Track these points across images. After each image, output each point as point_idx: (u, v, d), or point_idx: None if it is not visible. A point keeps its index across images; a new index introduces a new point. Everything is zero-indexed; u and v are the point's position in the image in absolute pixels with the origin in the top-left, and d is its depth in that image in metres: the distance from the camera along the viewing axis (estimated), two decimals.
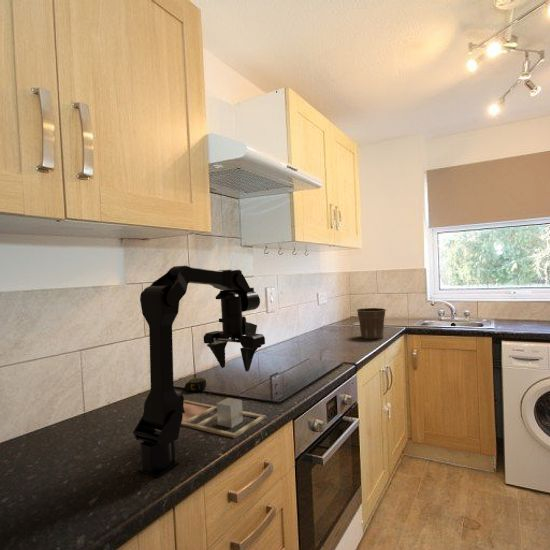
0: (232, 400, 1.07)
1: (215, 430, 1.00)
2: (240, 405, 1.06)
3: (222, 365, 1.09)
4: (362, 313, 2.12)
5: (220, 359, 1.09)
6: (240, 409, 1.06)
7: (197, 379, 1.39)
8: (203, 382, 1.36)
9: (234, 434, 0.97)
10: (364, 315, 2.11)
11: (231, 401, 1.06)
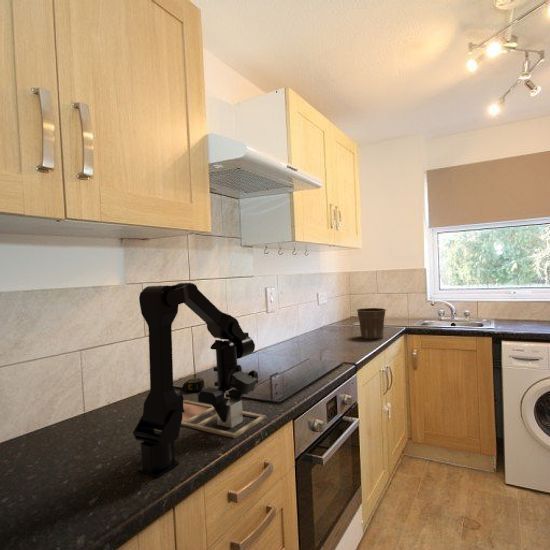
0: (232, 400, 1.06)
1: (215, 430, 1.00)
2: (240, 405, 1.06)
3: None
4: (362, 313, 2.12)
5: None
6: (240, 409, 1.06)
7: (195, 379, 1.39)
8: (201, 382, 1.36)
9: (234, 434, 0.97)
10: (364, 315, 2.11)
11: (231, 401, 1.06)
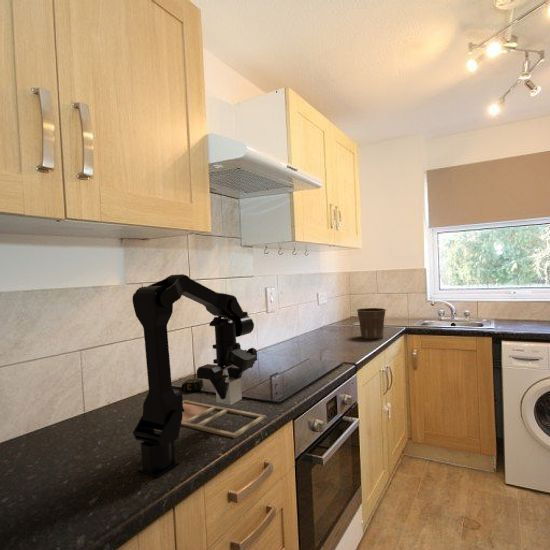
0: (231, 378, 1.07)
1: (215, 430, 1.00)
2: (239, 382, 1.06)
3: None
4: (362, 313, 2.12)
5: None
6: (239, 386, 1.06)
7: (194, 379, 1.39)
8: (200, 382, 1.36)
9: (234, 434, 0.97)
10: (364, 315, 2.11)
11: (230, 378, 1.06)
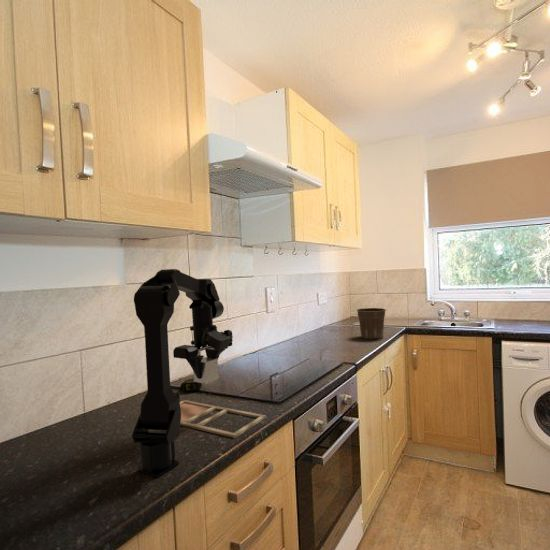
0: (208, 358, 1.11)
1: (215, 430, 1.00)
2: (216, 363, 1.10)
3: None
4: (362, 313, 2.12)
5: None
6: (216, 367, 1.10)
7: (193, 379, 1.39)
8: None
9: (234, 434, 0.97)
10: (364, 315, 2.11)
11: (207, 359, 1.10)
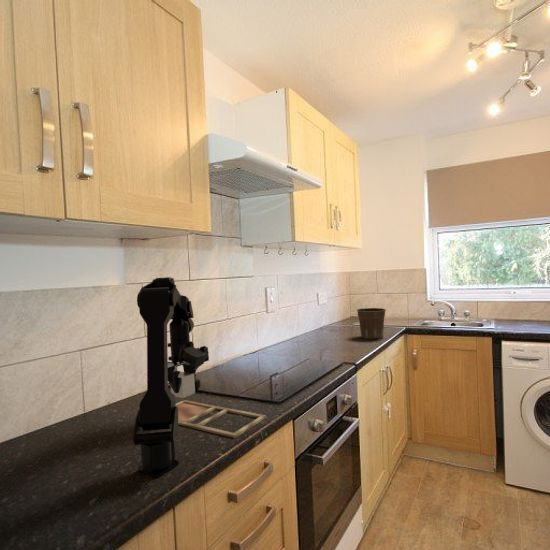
0: (185, 373, 1.16)
1: (215, 430, 1.00)
2: (192, 378, 1.15)
3: None
4: (362, 313, 2.12)
5: None
6: (192, 381, 1.15)
7: None
8: (197, 383, 1.36)
9: (234, 434, 0.97)
10: (364, 315, 2.11)
11: (183, 374, 1.15)
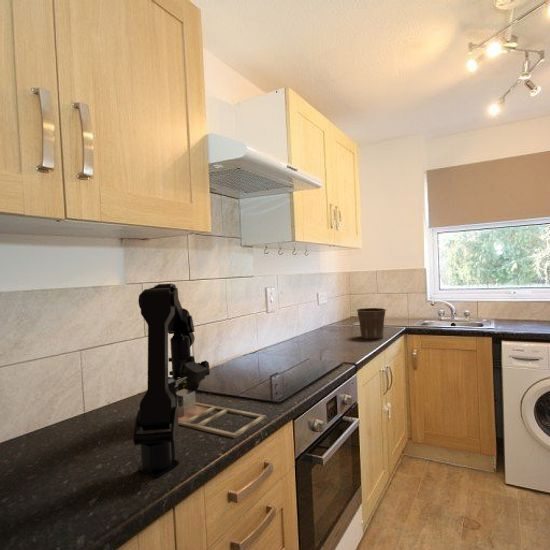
0: (186, 391, 1.16)
1: (215, 430, 1.00)
2: (193, 395, 1.15)
3: None
4: (362, 313, 2.12)
5: None
6: (193, 399, 1.15)
7: None
8: None
9: (234, 434, 0.97)
10: (364, 315, 2.11)
11: (185, 392, 1.15)
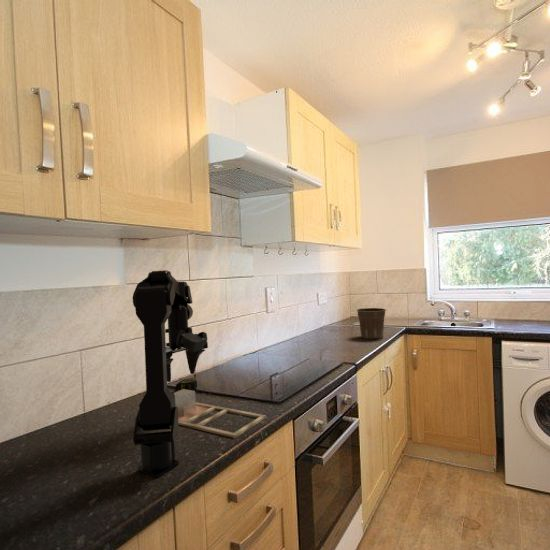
0: (186, 391, 1.16)
1: (215, 430, 1.00)
2: (193, 395, 1.15)
3: (190, 371, 1.16)
4: (362, 313, 2.12)
5: (189, 365, 1.16)
6: (193, 399, 1.15)
7: (188, 379, 1.39)
8: (194, 383, 1.36)
9: (234, 434, 0.97)
10: (364, 315, 2.11)
11: (185, 392, 1.15)
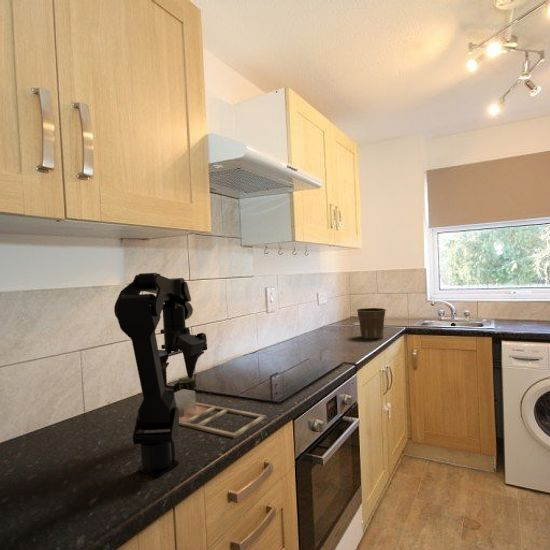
0: (186, 391, 1.16)
1: (215, 430, 1.00)
2: (193, 395, 1.15)
3: (188, 375, 1.06)
4: (362, 313, 2.12)
5: (187, 368, 1.06)
6: (193, 399, 1.15)
7: (186, 380, 1.39)
8: (192, 383, 1.36)
9: (234, 434, 0.97)
10: (364, 315, 2.11)
11: (185, 392, 1.15)
